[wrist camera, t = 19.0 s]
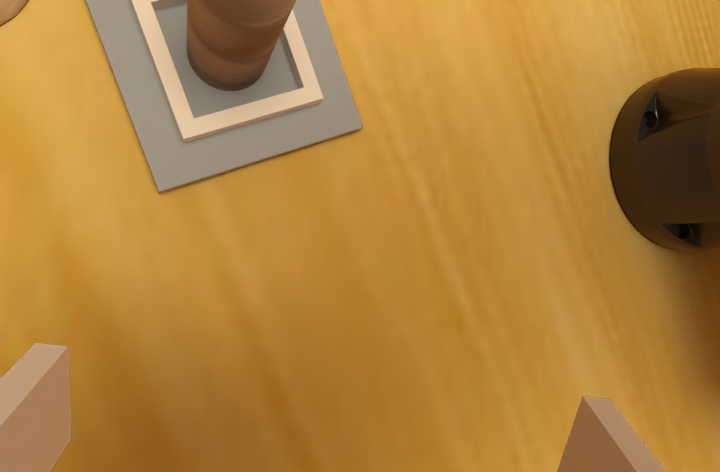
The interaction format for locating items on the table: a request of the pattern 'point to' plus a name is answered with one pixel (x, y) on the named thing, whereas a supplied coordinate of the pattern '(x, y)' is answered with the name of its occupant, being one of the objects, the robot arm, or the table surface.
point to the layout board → (222, 91)
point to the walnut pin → (233, 39)
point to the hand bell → (10, 9)
